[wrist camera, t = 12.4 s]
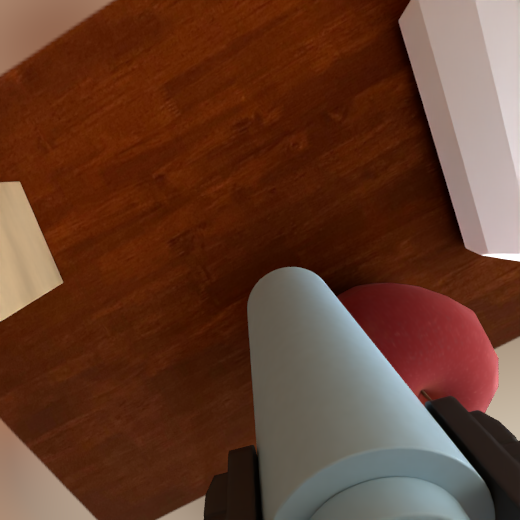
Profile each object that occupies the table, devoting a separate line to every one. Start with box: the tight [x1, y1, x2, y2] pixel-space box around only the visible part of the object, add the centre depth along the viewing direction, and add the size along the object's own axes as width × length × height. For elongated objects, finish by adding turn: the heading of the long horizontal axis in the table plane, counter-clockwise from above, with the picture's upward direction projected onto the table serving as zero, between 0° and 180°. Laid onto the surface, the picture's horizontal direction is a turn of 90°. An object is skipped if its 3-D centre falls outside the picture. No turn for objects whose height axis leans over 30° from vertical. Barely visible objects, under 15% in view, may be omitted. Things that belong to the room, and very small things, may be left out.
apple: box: [337, 283, 498, 413], centre depth 25 cm, size 12×12×13 cm
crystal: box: [398, 0, 520, 261], centre depth 25 cm, size 7×7×24 cm
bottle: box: [247, 267, 495, 520], centre depth 12 cm, size 5×5×15 cm
